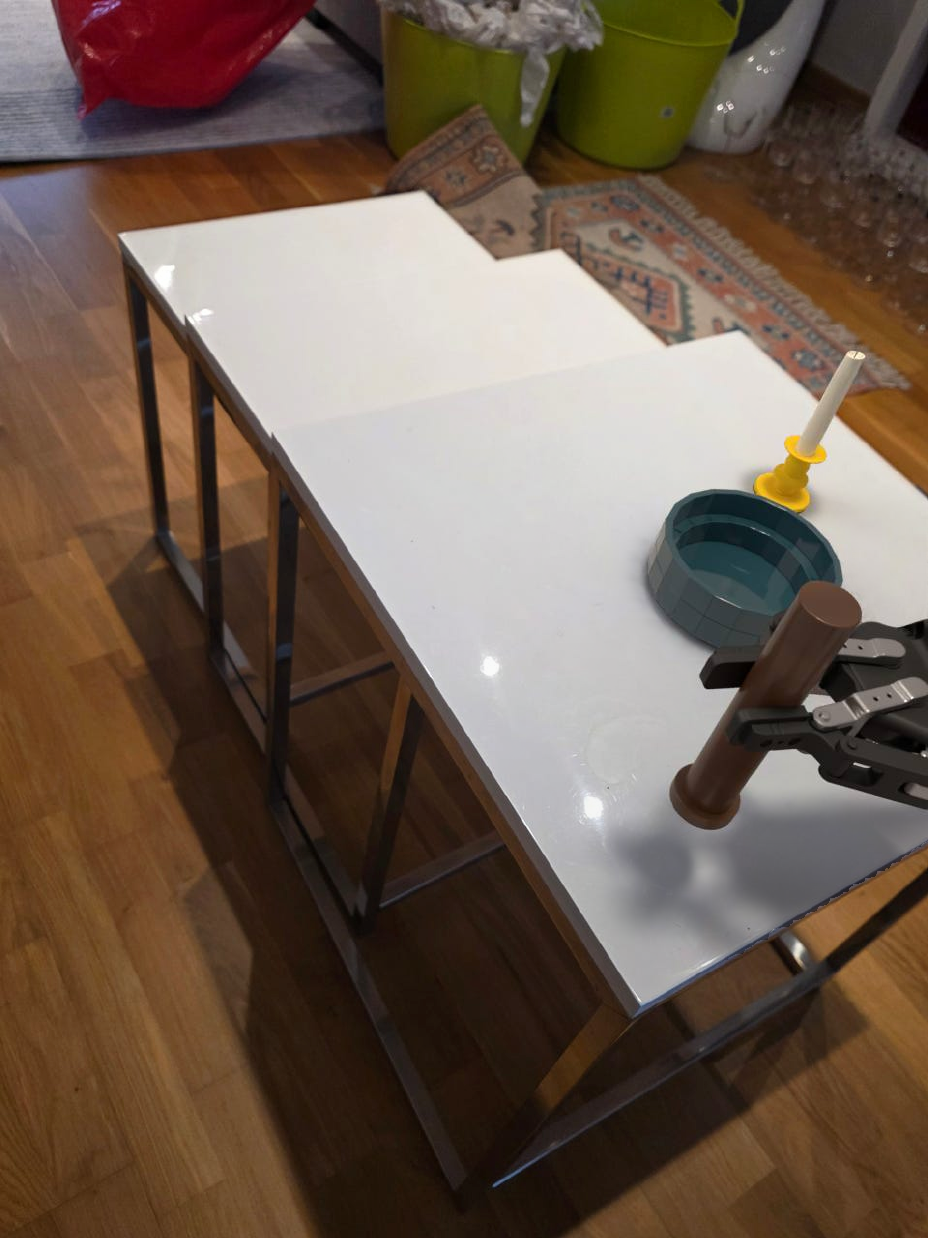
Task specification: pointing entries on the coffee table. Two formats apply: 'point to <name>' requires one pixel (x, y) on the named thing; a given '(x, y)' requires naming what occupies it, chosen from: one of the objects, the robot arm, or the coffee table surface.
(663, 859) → the coffee table surface
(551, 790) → the coffee table surface
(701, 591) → the bowl
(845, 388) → the candle
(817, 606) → the rod
